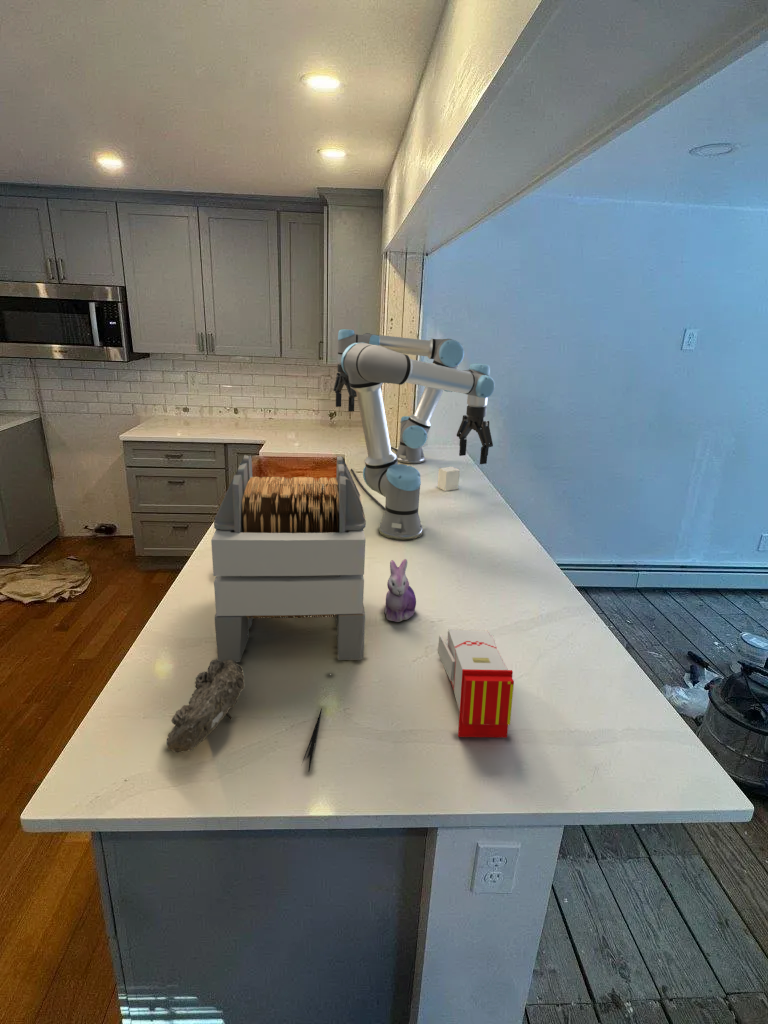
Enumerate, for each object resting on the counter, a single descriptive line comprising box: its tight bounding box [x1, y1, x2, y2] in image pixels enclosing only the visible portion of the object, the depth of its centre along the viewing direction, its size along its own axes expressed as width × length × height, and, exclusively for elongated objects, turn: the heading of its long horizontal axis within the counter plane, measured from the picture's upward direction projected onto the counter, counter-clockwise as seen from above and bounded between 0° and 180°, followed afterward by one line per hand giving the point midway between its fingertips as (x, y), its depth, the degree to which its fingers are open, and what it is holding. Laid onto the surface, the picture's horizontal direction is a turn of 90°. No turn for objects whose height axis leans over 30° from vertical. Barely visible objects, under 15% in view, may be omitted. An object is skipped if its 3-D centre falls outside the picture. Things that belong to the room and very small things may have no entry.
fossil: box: [166, 659, 245, 754], centre depth 106 cm, size 22×10×15 cm
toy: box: [437, 628, 515, 738], centre depth 117 cm, size 12×13×30 cm
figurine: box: [384, 558, 417, 623], centre depth 145 cm, size 9×10×15 cm
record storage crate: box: [210, 454, 366, 663], centre depth 134 cm, size 34×33×41 cm
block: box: [437, 466, 460, 492], centre depth 252 cm, size 7×6×9 cm
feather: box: [301, 673, 332, 771], centre depth 108 cm, size 2×28×2 cm
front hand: (472, 459), depth 224 cm, fingers open, 13 cm apart
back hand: (344, 409), depth 274 cm, fingers open, 13 cm apart
